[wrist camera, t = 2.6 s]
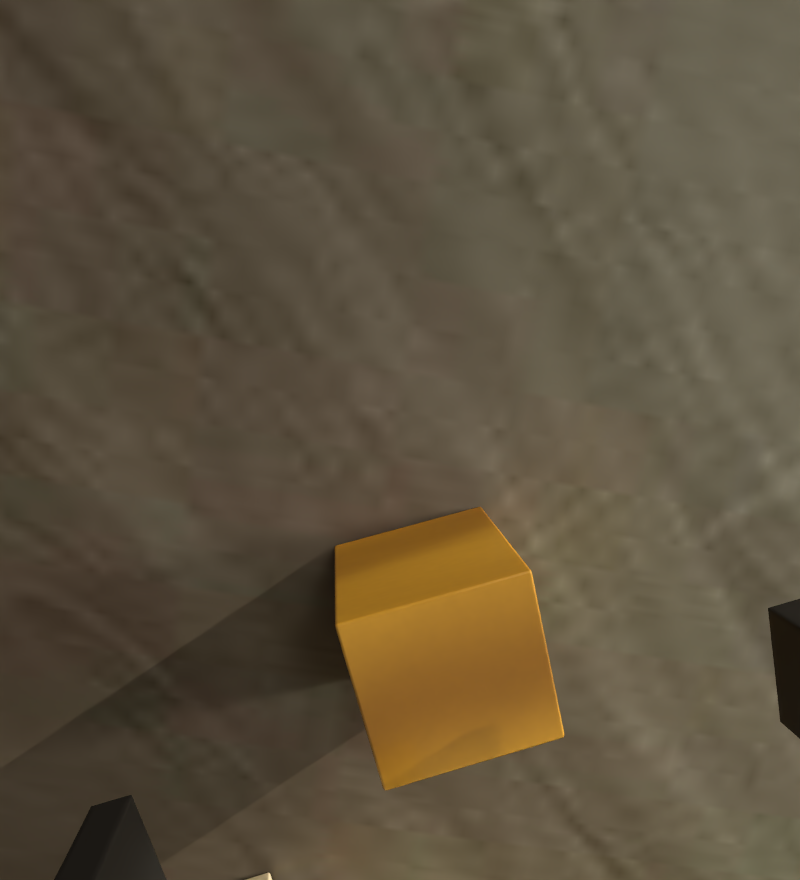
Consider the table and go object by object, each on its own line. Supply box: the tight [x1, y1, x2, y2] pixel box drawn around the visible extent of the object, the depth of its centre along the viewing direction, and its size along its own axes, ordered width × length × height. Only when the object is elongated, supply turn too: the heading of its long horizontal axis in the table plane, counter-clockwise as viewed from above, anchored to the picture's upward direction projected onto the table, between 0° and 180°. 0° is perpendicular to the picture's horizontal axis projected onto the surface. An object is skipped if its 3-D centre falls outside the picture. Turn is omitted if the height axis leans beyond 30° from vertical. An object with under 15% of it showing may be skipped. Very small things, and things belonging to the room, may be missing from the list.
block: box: [335, 507, 564, 790], centre depth 15 cm, size 4×4×4 cm
